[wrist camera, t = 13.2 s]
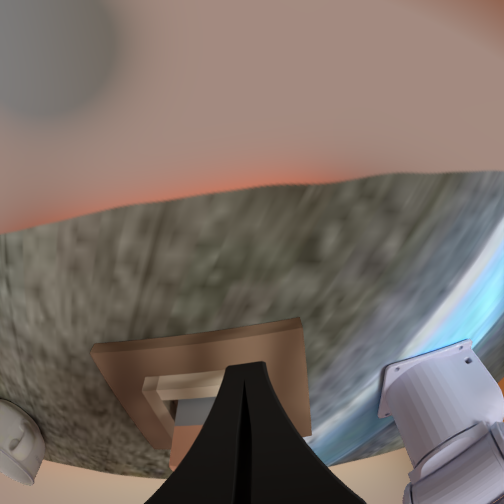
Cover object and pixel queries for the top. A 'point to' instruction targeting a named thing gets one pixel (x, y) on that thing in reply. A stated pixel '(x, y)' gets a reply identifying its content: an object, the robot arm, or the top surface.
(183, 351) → the socket board
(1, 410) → the teacup
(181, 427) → the square peg
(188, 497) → the robot arm
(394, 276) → the top surface
